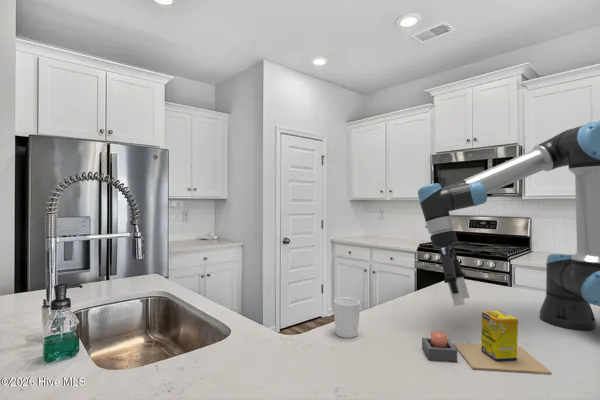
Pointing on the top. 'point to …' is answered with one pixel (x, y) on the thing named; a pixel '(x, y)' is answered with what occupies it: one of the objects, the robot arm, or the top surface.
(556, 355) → the top surface
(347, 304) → the white cup
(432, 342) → the button
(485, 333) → the supplement box
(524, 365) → the thin tan board
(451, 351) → the button housing
